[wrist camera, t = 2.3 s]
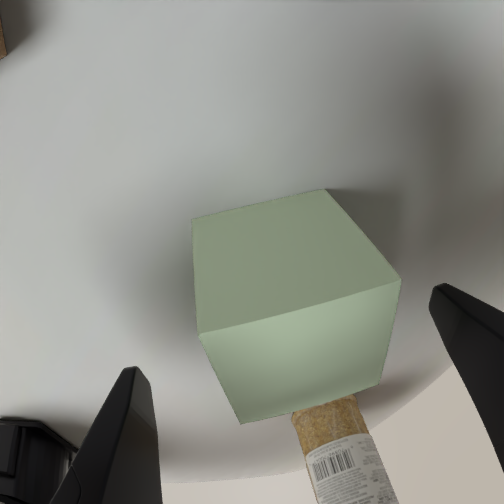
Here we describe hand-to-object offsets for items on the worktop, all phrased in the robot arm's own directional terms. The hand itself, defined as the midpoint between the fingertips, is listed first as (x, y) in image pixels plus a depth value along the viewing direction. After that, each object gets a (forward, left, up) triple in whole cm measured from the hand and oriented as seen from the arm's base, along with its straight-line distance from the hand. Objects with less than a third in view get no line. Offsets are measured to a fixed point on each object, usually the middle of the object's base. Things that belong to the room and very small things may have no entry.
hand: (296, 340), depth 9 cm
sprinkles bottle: (-13, -2, -4) cm, 14 cm away
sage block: (0, 0, -4) cm, 4 cm away
